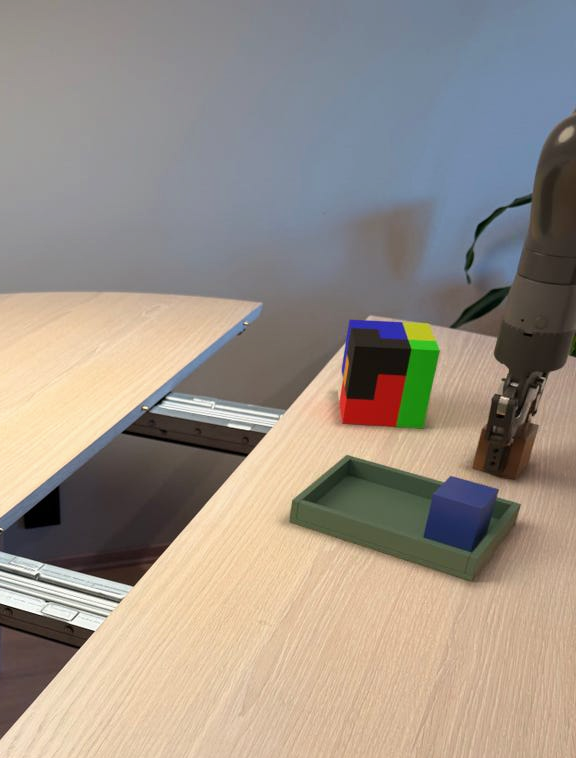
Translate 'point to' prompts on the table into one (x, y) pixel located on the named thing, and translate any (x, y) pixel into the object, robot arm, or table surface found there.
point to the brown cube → (517, 452)
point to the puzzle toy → (387, 373)
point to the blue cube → (460, 513)
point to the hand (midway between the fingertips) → (500, 463)
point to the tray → (392, 515)
